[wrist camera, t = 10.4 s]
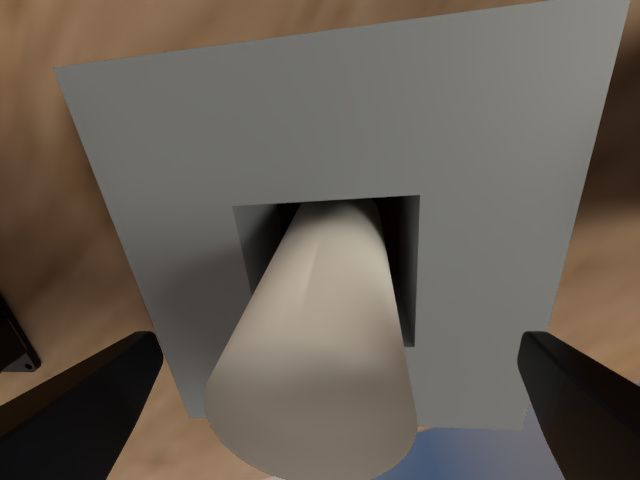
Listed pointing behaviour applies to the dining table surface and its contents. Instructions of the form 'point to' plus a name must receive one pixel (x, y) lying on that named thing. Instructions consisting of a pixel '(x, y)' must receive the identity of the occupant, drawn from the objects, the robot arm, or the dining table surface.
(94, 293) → the dining table surface
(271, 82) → the socket block
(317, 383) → the peg
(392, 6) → the dining table surface
